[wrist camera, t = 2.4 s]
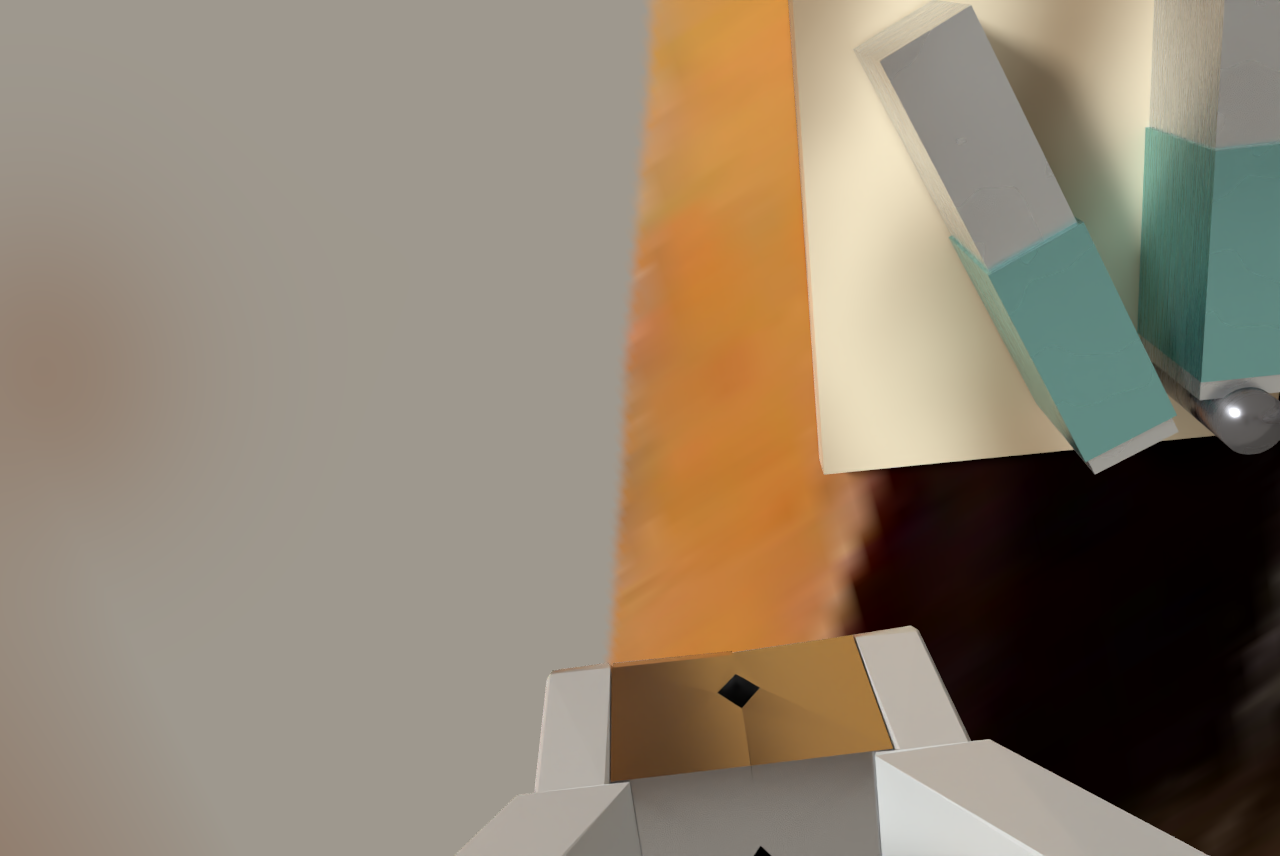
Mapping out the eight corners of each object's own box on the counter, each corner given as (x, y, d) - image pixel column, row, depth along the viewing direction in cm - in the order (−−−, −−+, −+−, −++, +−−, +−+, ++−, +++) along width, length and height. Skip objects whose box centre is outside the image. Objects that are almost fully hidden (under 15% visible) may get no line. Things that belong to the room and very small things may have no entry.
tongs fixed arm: (1257, -122, 25) (1360, -136, 21) (1222, 387, 29) (1303, 449, 26) (1154, -108, 25) (1239, -121, 21) (1134, 396, 29) (1202, 459, 26)
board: (1305, -177, 25) (1329, -182, 25) (1256, 415, 31) (1275, 429, 30) (781, -108, 26) (785, -111, 25) (819, 459, 31) (824, 474, 30)
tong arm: (936, -3, 26) (977, 2, 22) (1124, 378, 29) (1185, 433, 26) (850, 51, 26) (878, 64, 23) (1044, 419, 30) (1094, 480, 26)
